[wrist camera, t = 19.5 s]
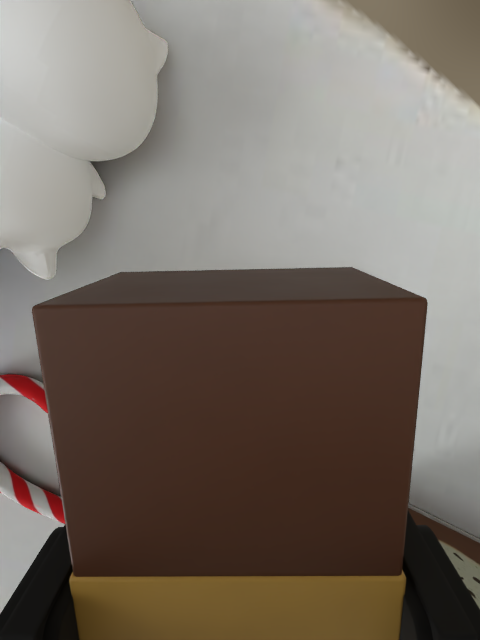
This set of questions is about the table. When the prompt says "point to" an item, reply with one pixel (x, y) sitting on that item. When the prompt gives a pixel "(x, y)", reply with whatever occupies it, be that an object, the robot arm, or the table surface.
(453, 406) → the table surface
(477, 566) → the food container
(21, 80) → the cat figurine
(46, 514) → the candy cane
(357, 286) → the chocolate bar
